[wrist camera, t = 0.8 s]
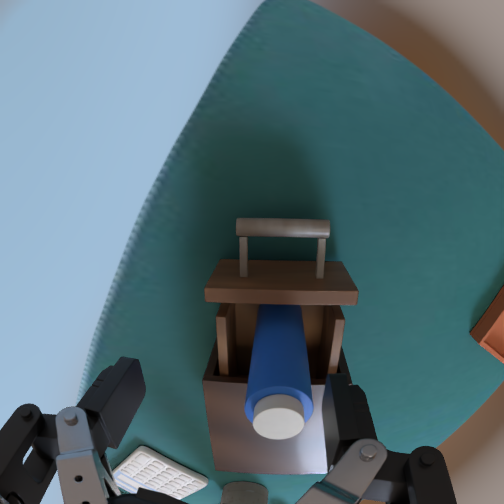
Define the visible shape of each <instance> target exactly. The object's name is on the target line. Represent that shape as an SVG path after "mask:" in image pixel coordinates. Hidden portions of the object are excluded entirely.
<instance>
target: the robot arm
mask: <svg viewBox="0 0 504 504" xmlns="http://www.w3.org/2000/svg"><path fill="white" fill-rule="evenodd" d="M145 391H146V387H145V382H144V378H143V374H142V370H141V366H140V362H139V360H138V359H134V358H128V357H121V358H120V359H119V360H118V361H117V363H116V364H115V365H114V366H109V367H108V368H106V369H105V370H103V371H102V372H101V373H100V374H99V376H98V377H97V378H96V380H95V381H94V382H93V384H92V386H91V387H90V388H89V389H88V391H87V392H86V393H85V395H84V396H83V397H82V399H81V400H80V401H79V403H78V404H77V406H76V407H67V408H64V409H62V410H61V411H60V412H59V413H58V414H57V415H52V414H42V413H41V411H40V409H39V407H37V406H36V405H34V404H24V405H21V406H20V407H18V408H17V409H16V410H15V412H14V413H13V414H12V416H11V417H10V418H9V420H8V421H7V422H6V423H5V425H4V426H3V427H2V429H1V430H0V504H40V502H41V500H42V498H43V496H44V494H45V492H46V490H47V488H48V486H49V484H50V482H51V480H52V479H53V476H54V475H55V473H56V471H57V470H58V476H59V481H60V486H61V491H62V496H63V500H64V504H188V503H185V502H183V501H181V500H178V499H176V498H174V497H172V496H169V495H167V494H165V493H161V492H156V491H152V490H148V489H144V488H141V487H139V488H138V491H137V493H132V494H122V495H121V493H120V491H119V489H118V487H117V484H116V482H115V479H114V476H113V473H112V470H111V467H110V464H109V461H108V458H107V455H106V453H105V450H106V449H107V447H111V448H114V449H117V448H118V446H119V444H120V442H121V440H122V438H123V437H124V435H125V433H126V431H127V429H128V427H129V425H130V423H131V421H132V419H133V417H134V415H135V414H136V412H137V410H138V408H139V406H140V404H141V402H142V400H143V398H144V396H145ZM322 419H323V428H324V438H325V449H326V460H327V472H328V474H327V475H326V476H325V478H324V479H323V480H322V481H320V482H316V483H315V484H314V485H313V486H312V487H311V488H310V489H309V490H308V491H307V492H306V493H305V494H304V495H303V496H302V497H301V498H300V499H299V500H298V501H297V502H296V503H295V504H359V503H360V502H361V500H362V499H367V500H374V501H382V502H386V504H457V502H456V498H455V494H454V491H453V487H452V484H451V480H450V477H449V473H448V470H447V466H446V463H445V460H444V457H443V455H442V453H441V452H440V451H439V450H437V449H436V448H434V447H430V446H422V447H418V448H416V449H415V450H413V451H412V453H411V454H406V453H398V452H393V451H389V450H387V449H386V447H385V446H384V445H383V444H382V443H381V442H379V441H378V439H377V436H376V432H375V428H374V424H373V421H372V417H371V413H370V412H369V406H368V404H367V399H366V395H365V392H364V391H363V390H362V389H361V388H360V387H359V386H358V385H349V383H348V379H347V375H346V373H332V374H327V378H326V384H325V389H324V394H323V400H322ZM31 446H32V448H33V450H32V451H31V453H30V455H29V456H28V458H27V459H26V461H25V463H24V464H23V458H24V456H25V454H26V453H27V451H28V450H29V448H30V447H31ZM223 504H224V503H223Z"/></svg>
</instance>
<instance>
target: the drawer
mask: <svg viewBox="0 0 504 504" xmlns="http://www.w3.org/2000/svg"><path fill="white" fill-rule="evenodd" d="M236 235H237V236H240V237H239V244H240V260H237V259H220V260H219V262H218V264H217V266H216V268H215V269H214V271H213V273H212V275H211V277H210V279H209V280H208V282H207V284H206V286H205V288H204V291H205V302H219V303H221V305H220V307H219V310H218V313H217V315H216V329H217V344H218V358H219V372H220V376H224V377H240V378H249V371H250V364H251V357H252V349H253V342H254V335H255V327H256V320H257V313H258V308H259V306H260V304H279V305H300V307H301V310H302V317H303V324H304V332H305V339H306V347H307V355H308V363H309V372H310V379H326V378H327V374H332V373H337V367H338V362H339V356H340V350H341V344H342V338H343V331H344V325H345V318H344V315H343V313H342V310H341V307H340V305H357V300H358V292H359V291H358V289H357V287H356V286H355V284H354V282H353V280H352V279H351V277H350V275H349V273H348V272H347V270H346V268H345V266H344V265H343V263H342V262H336V261H325V249H326V238H329V236H330V221H329V220H325V219H287V218H237V220H236ZM248 236H260V237H309V238H318V241H317V258H316V261H283V260H248Z"/></svg>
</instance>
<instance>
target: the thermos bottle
mask: <svg viewBox="0 0 504 504" xmlns="http://www.w3.org/2000/svg"><path fill="white" fill-rule="evenodd" d="M223 503H224V504H267V503H268V490H267V489H266V488H265V487H264V486H262V485H260V484H257V483H253V482H245V481H237V482H231V483H228V484H226V485H225V486H224V487H223V492H222V497H221V503H220V504H223Z"/></svg>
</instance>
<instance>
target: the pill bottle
mask: <svg viewBox="0 0 504 504" xmlns="http://www.w3.org/2000/svg"><path fill="white" fill-rule="evenodd" d="M313 408H314V407H313V398H312V389H311V380H310V372H309V363H308V355H307V347H306V339H305V332H304V324H303V317H302V310H301V307H300V305H279V304H260V306H259V308H258V313H257V320H256V327H255V335H254V342H253V349H252V357H251V364H250V371H249V378H248V385H247V392H246V399H245V406H244V410H245V414H246V416H247V418H248V419H249V421H250V422H251V423H253V427H254V429H255V431H256V432H257V433H258V434H260V435H261V436H263V437H266V438H269V439H277V440H278V439H287V438H291V437H293V436H295V435H297V434H298V433H300V432H301V430H302V429H303V427H304V424H305V423H306V422H307V421H308V420H309V418H310V417H311V415H312V413H313Z"/></svg>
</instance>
